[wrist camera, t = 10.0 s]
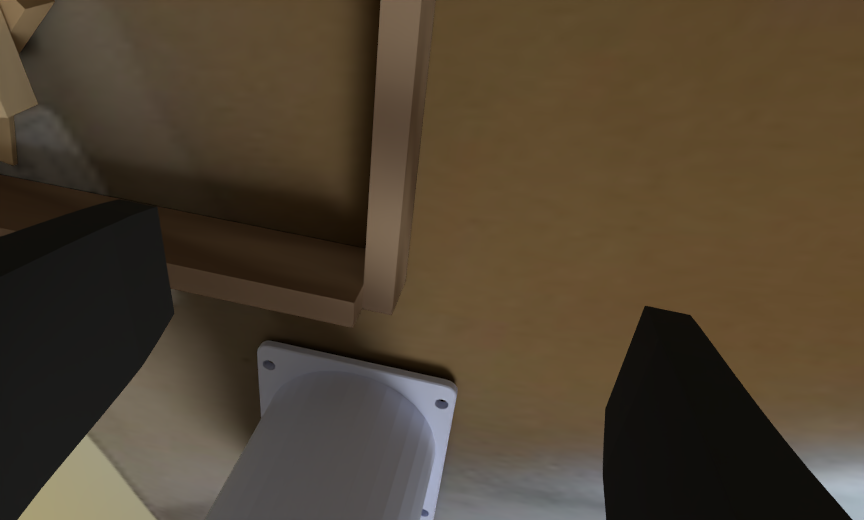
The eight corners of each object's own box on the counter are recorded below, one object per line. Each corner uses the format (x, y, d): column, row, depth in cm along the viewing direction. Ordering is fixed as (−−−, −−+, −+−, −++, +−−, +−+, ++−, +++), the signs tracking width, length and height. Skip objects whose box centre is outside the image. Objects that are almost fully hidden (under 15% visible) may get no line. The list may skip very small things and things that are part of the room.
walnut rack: (405, 280, 22) (383, 334, 20) (-31, 190, 24) (-102, 229, 21) (447, -115, 15) (422, -109, 13) (-165, -201, 17) (-291, -210, 15)
